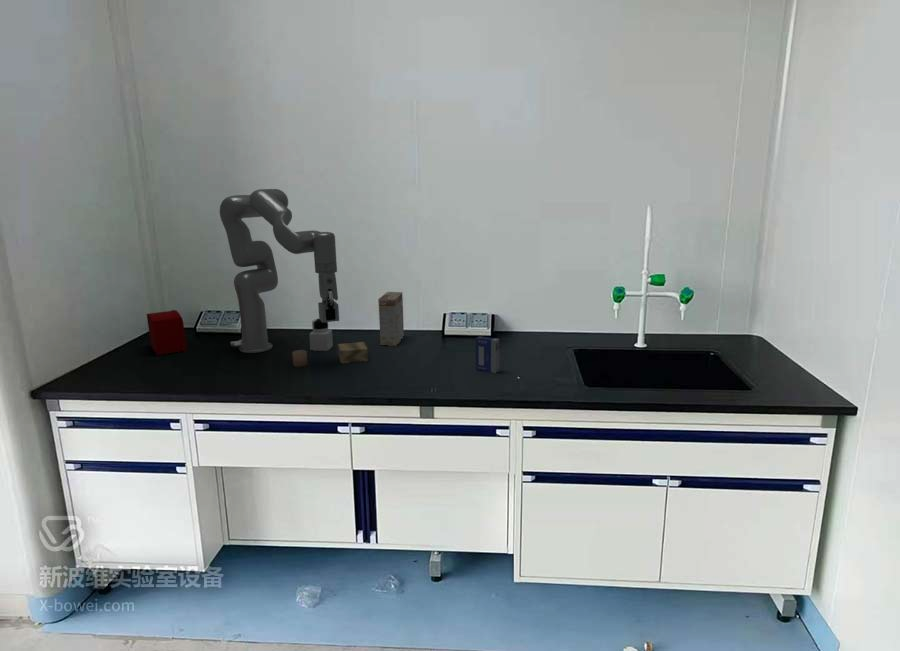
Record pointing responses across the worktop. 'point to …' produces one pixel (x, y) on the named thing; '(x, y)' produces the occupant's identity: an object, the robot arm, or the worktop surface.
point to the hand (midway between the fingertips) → (329, 317)
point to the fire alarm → (166, 332)
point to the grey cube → (323, 312)
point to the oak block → (352, 352)
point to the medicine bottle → (320, 336)
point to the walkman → (487, 354)
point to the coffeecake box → (391, 318)
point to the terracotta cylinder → (299, 358)
